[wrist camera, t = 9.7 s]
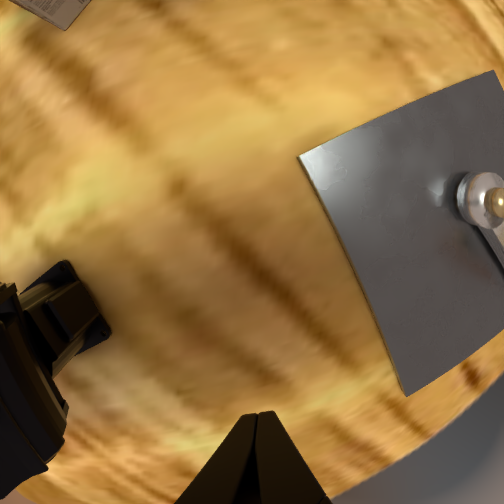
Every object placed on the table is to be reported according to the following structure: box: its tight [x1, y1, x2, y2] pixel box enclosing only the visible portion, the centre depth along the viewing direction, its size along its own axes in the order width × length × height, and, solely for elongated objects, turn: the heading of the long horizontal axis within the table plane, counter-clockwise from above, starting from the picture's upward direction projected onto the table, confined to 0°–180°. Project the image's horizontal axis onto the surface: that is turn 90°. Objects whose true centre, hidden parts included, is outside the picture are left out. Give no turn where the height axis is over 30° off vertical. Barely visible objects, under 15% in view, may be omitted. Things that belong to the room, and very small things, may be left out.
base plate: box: [297, 70, 504, 397], centre depth 19 cm, size 18×20×1 cm
